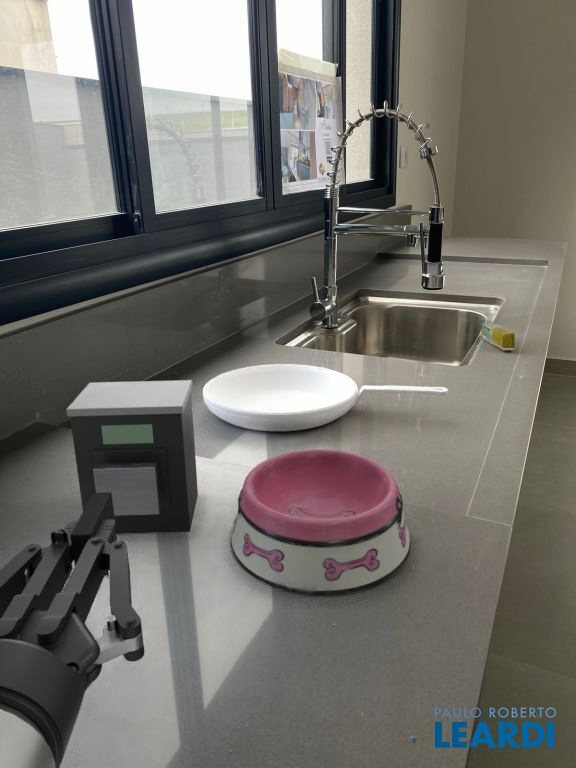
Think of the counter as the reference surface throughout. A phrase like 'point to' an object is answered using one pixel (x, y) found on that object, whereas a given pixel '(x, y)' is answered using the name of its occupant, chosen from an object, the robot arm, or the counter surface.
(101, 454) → the dispenser
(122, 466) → the push plate
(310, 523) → the dog bowl
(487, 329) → the medication box
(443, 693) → the counter surface
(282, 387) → the pan
